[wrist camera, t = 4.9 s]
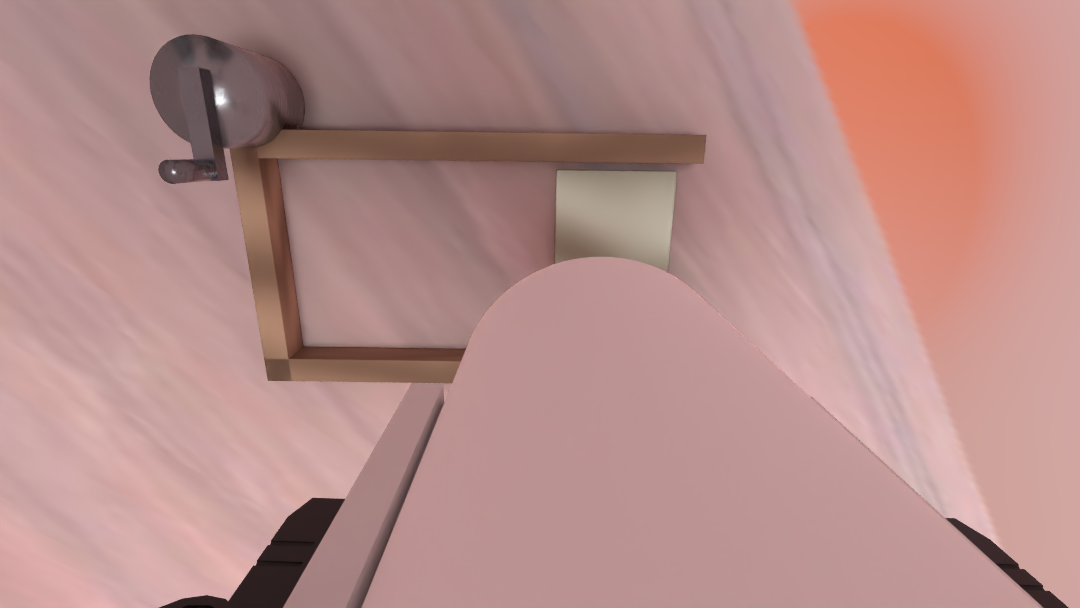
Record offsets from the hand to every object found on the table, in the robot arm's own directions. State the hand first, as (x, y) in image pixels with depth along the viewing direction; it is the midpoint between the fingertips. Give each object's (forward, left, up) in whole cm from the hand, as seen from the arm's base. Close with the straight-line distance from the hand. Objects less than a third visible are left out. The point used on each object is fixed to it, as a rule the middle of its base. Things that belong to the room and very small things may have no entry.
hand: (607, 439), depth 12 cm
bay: (0, -6, -20) cm, 20 cm away
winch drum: (-9, -18, -20) cm, 28 cm away
